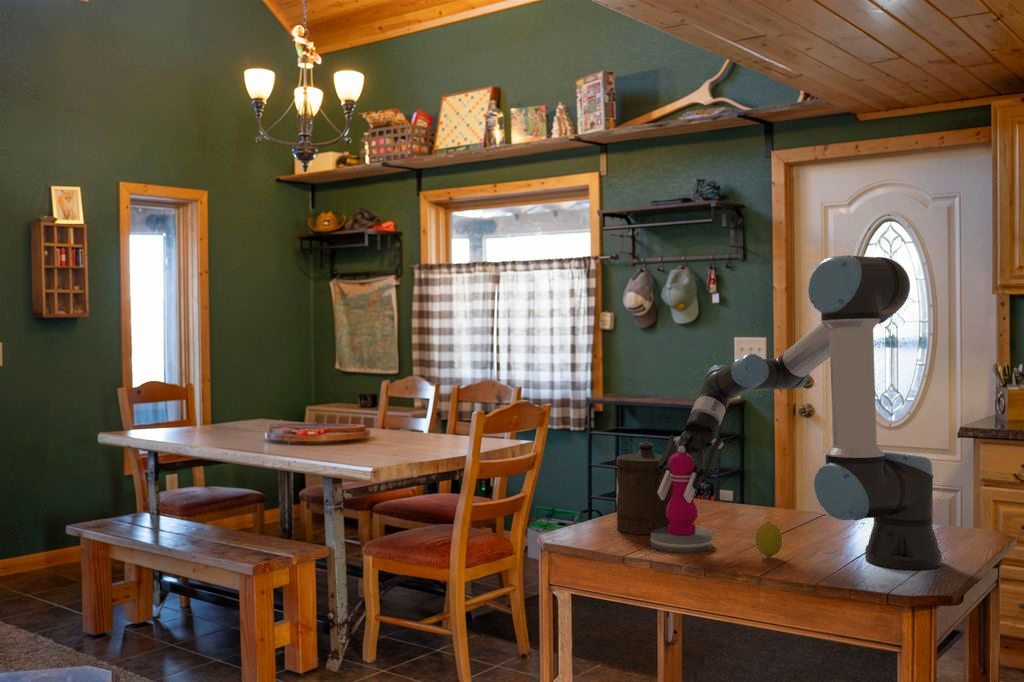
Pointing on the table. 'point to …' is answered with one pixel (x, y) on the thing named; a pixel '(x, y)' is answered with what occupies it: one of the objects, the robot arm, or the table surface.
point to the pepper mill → (681, 495)
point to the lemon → (768, 539)
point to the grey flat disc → (681, 541)
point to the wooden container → (640, 492)
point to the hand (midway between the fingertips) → (673, 497)
